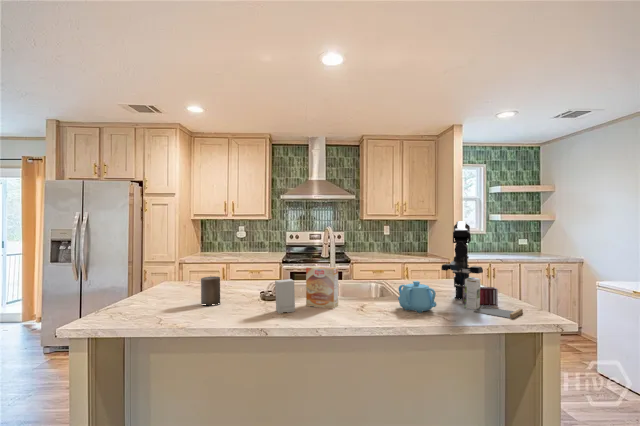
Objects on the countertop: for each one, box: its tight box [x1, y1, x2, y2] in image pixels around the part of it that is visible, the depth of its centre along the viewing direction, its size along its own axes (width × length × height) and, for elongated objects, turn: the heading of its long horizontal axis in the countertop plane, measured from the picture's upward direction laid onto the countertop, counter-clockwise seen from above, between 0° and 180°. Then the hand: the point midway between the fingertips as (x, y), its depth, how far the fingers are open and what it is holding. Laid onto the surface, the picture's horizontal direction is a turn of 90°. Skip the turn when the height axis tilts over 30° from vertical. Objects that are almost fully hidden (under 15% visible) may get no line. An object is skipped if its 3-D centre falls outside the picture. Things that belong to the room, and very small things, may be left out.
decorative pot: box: [397, 280, 437, 314], centre depth 177 cm, size 16×16×14 cm
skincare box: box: [274, 278, 296, 314], centre depth 175 cm, size 8×6×15 cm
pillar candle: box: [200, 276, 221, 305], centre depth 192 cm, size 10×10×15 cm
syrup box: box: [463, 276, 481, 311], centre depth 179 cm, size 6×6×14 cm
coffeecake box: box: [305, 265, 339, 309], centre depth 186 cm, size 15×7×20 cm, turn 68°
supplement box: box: [462, 286, 499, 307], centre depth 187 cm, size 9×5×16 cm
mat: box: [473, 306, 524, 320], centre depth 170 cm, size 17×13×2 cm
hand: (461, 286), depth 183 cm, fingers closed
